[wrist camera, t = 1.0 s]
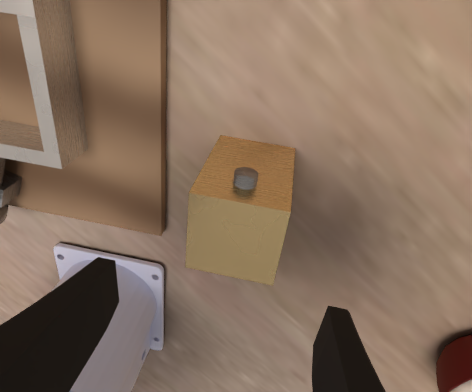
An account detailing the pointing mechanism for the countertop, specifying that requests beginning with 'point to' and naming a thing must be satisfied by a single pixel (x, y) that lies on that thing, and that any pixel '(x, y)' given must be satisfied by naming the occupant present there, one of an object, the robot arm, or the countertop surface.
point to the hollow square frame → (47, 87)
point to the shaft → (7, 188)
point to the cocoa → (455, 366)
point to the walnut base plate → (101, 116)
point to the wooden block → (240, 210)
